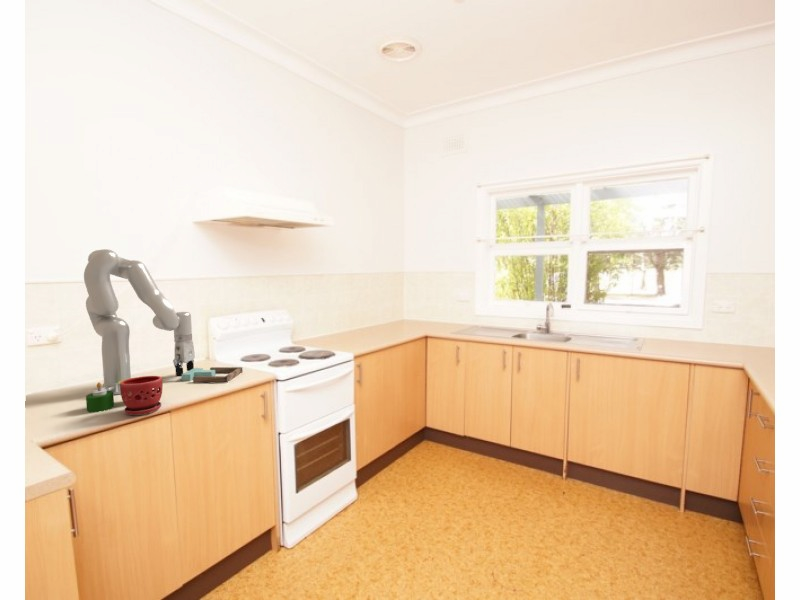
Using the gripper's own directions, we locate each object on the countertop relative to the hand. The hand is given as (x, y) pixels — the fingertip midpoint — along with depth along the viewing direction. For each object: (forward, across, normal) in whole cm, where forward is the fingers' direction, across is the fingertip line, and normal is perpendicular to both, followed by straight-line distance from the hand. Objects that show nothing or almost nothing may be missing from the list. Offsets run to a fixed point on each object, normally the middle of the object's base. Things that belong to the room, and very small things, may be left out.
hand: (185, 373), depth 195 cm
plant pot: (+2, -45, -8) cm, 46 cm away
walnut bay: (+2, 0, -16) cm, 16 cm away
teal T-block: (+2, 0, -8) cm, 8 cm away
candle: (+2, -42, +10) cm, 43 cm away
